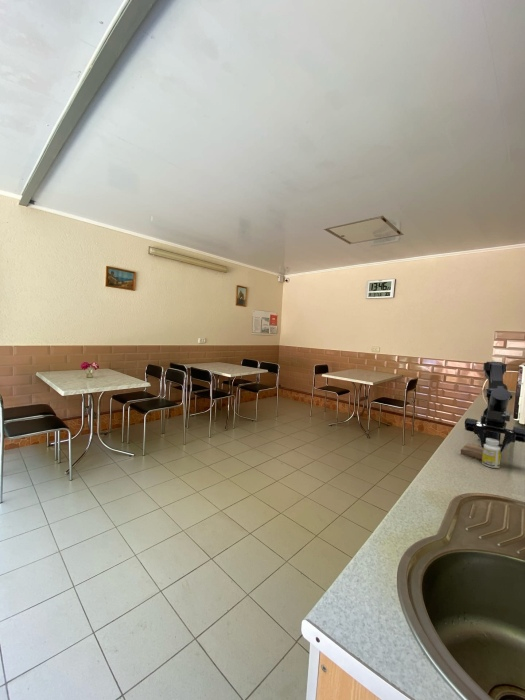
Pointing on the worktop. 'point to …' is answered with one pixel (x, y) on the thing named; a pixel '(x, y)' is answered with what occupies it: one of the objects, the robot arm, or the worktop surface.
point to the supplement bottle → (491, 453)
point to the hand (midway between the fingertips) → (491, 449)
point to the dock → (472, 451)
